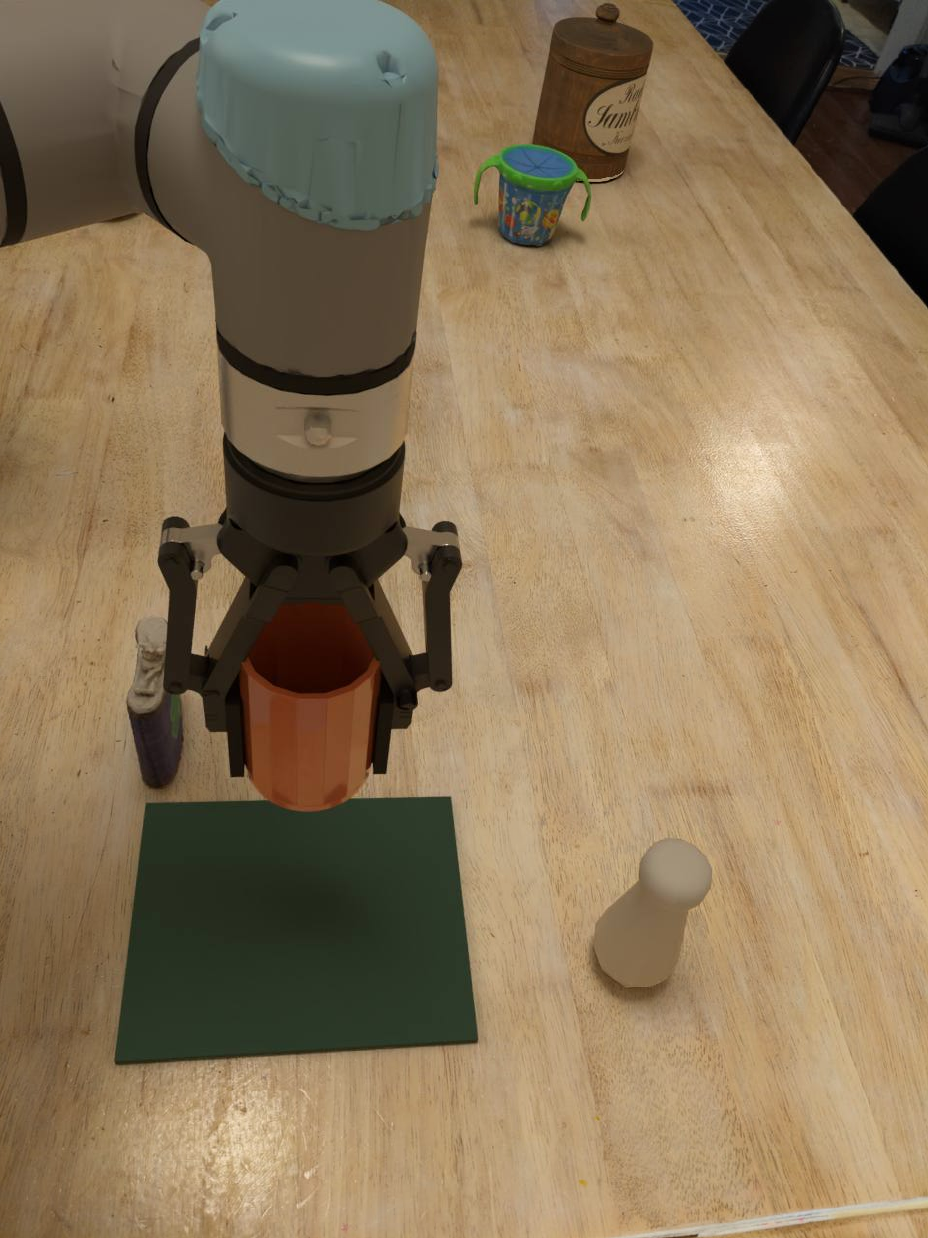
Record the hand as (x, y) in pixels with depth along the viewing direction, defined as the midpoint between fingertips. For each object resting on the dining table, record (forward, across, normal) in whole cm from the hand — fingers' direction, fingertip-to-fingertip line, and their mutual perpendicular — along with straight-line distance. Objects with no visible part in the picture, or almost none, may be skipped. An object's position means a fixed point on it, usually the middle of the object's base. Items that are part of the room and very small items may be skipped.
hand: (309, 755), depth 59 cm
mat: (+16, 0, -2) cm, 16 cm away
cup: (0, 0, 0) cm, 0 cm away
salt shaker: (+16, +22, -6) cm, 28 cm away
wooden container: (+16, +42, +122) cm, 130 cm away
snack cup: (+16, +30, +97) cm, 103 cm away
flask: (+16, -11, +13) cm, 24 cm away
